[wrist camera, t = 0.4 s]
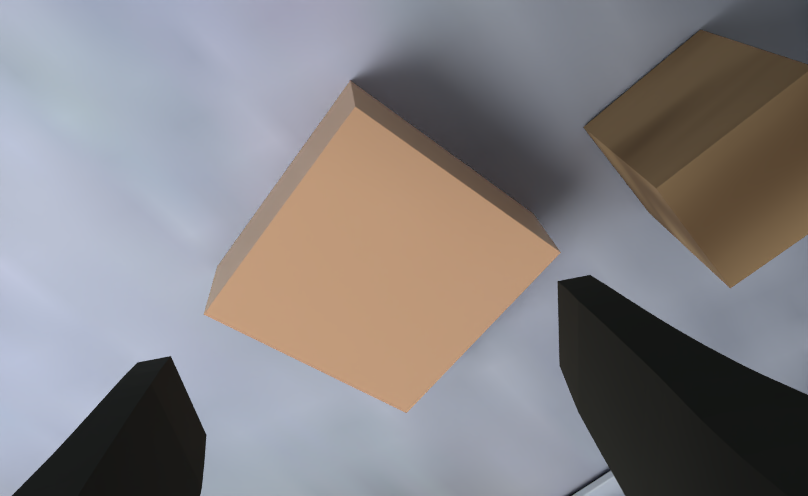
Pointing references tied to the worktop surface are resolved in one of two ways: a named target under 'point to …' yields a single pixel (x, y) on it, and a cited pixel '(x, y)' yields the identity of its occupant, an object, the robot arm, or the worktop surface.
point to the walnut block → (717, 150)
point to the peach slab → (377, 255)
